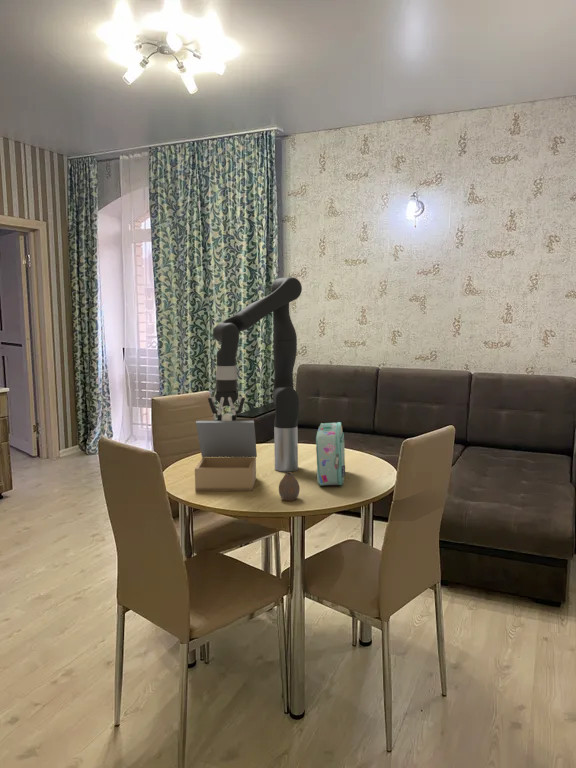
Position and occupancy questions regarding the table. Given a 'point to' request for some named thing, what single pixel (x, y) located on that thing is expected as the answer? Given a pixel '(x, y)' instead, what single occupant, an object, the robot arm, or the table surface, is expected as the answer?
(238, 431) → the lid
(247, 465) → the mailer box
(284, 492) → the vase
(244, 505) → the table surface
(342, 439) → the lunch box
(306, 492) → the table surface
